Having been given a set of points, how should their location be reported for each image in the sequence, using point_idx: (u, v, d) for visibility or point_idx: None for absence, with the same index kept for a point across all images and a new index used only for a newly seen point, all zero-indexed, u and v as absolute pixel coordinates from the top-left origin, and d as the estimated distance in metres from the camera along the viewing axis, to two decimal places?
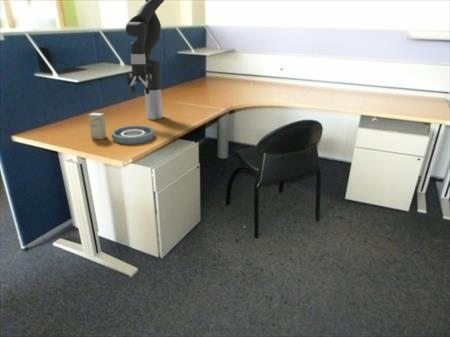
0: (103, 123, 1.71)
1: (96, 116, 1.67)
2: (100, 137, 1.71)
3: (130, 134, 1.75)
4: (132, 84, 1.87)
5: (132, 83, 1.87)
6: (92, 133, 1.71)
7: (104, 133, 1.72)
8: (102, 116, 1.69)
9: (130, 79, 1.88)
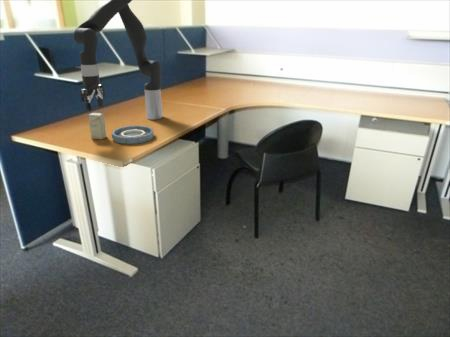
0: (103, 123, 1.71)
1: (96, 116, 1.67)
2: (100, 137, 1.71)
3: (130, 134, 1.75)
4: (90, 100, 1.62)
5: (90, 99, 1.61)
6: (92, 133, 1.71)
7: (104, 133, 1.72)
8: (102, 116, 1.69)
9: None
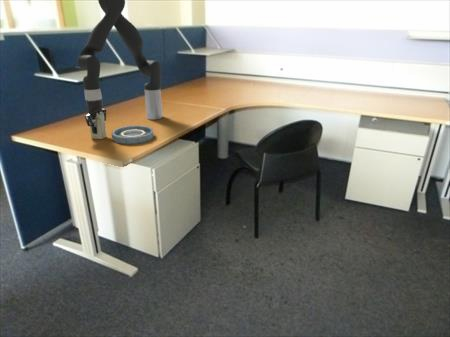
0: (103, 123, 1.71)
1: None
2: (100, 137, 1.71)
3: (130, 134, 1.75)
4: None
5: None
6: (92, 133, 1.71)
7: (104, 133, 1.72)
8: (102, 116, 1.69)
9: None
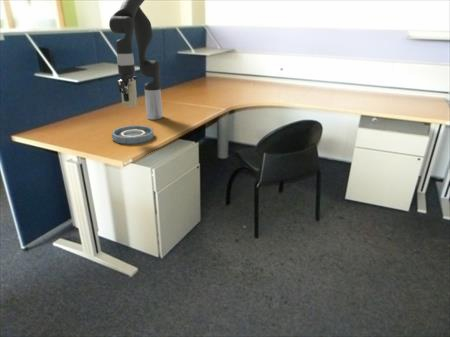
0: (135, 91, 1.65)
1: None
2: (132, 105, 1.65)
3: (130, 134, 1.75)
4: None
5: None
6: (123, 101, 1.65)
7: (135, 101, 1.67)
8: (134, 83, 1.63)
9: None
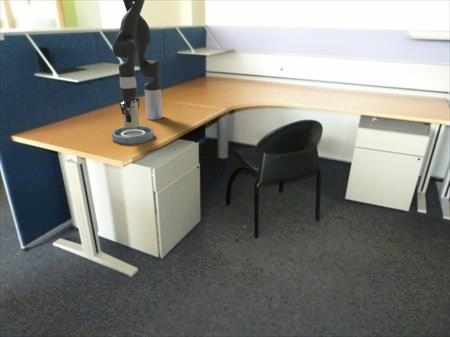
0: (137, 112, 1.69)
1: (131, 104, 1.65)
2: (134, 126, 1.69)
3: (130, 134, 1.75)
4: None
5: None
6: (126, 122, 1.69)
7: (137, 122, 1.71)
8: (136, 104, 1.67)
9: None
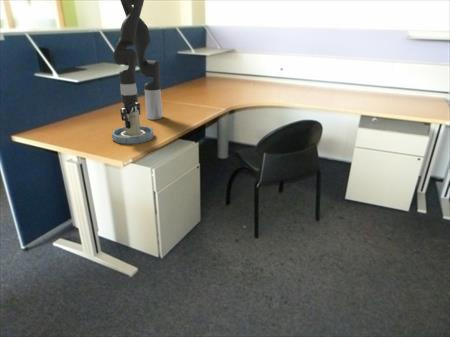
0: (138, 121, 1.71)
1: (132, 113, 1.67)
2: (135, 135, 1.71)
3: None
4: (129, 118, 1.67)
5: (129, 117, 1.66)
6: (127, 130, 1.71)
7: (138, 131, 1.73)
8: (137, 114, 1.69)
9: None
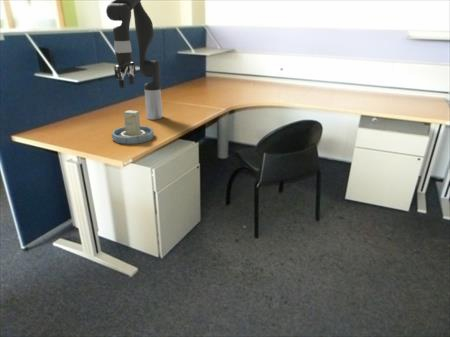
0: (138, 121, 1.71)
1: (131, 114, 1.67)
2: (135, 135, 1.71)
3: None
4: (123, 77, 1.62)
5: (123, 76, 1.61)
6: (127, 130, 1.71)
7: (138, 131, 1.73)
8: (137, 114, 1.69)
9: None
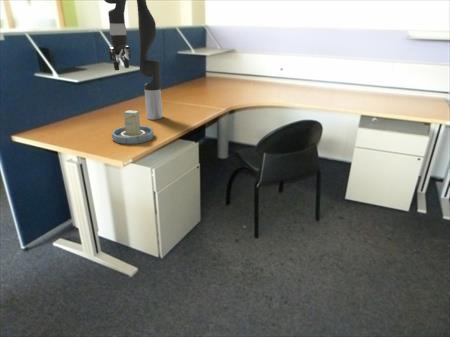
0: (138, 121, 1.71)
1: (131, 114, 1.67)
2: (135, 135, 1.71)
3: None
4: (118, 60, 1.65)
5: (118, 58, 1.64)
6: (127, 130, 1.71)
7: (138, 131, 1.73)
8: (137, 114, 1.69)
9: None
